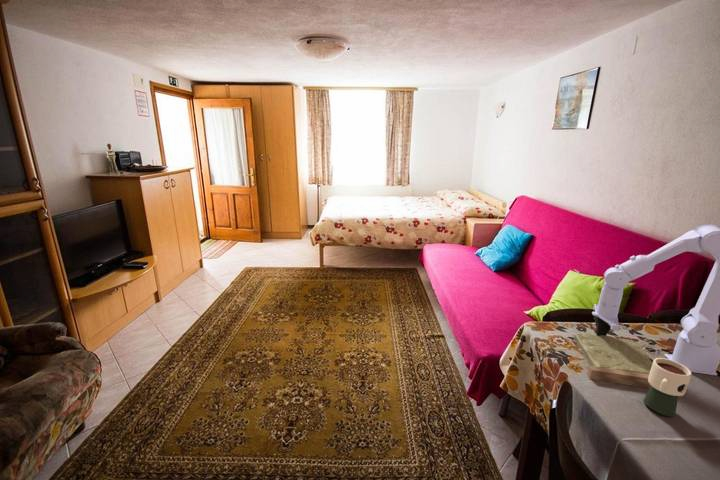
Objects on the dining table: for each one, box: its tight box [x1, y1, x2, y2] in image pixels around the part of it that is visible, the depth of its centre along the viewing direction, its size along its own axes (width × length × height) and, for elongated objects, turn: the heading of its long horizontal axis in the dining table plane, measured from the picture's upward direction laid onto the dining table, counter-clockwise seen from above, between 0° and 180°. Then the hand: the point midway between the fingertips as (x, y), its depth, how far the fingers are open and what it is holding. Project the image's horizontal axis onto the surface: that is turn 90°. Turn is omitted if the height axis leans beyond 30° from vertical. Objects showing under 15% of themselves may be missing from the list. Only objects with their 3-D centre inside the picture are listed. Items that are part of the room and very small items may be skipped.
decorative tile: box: [573, 332, 653, 374], centre depth 104 cm, size 19×20×4 cm
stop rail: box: [586, 365, 651, 389], centre depth 94 cm, size 22×2×3 cm, turn 76°
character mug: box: [643, 357, 693, 417], centre depth 84 cm, size 11×7×13 cm, turn 127°
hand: (600, 337), depth 114 cm, fingers closed, pressing on decorative tile
